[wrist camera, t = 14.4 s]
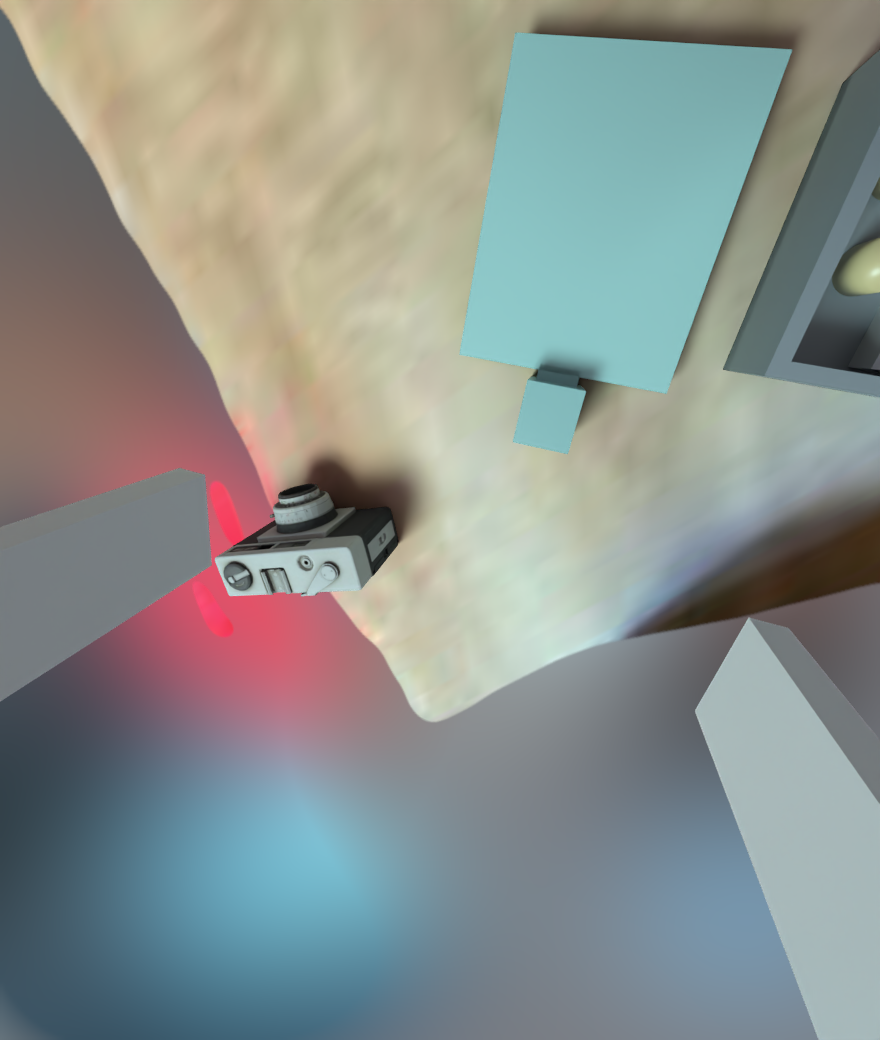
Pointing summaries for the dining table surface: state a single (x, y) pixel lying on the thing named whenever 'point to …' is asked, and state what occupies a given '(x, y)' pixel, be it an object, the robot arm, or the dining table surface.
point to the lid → (609, 211)
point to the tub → (826, 260)
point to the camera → (310, 547)
